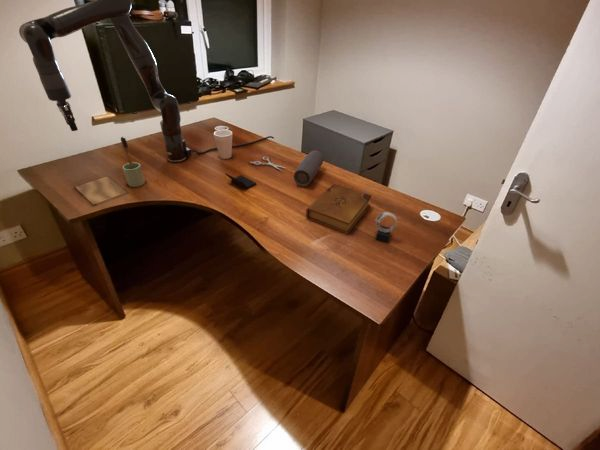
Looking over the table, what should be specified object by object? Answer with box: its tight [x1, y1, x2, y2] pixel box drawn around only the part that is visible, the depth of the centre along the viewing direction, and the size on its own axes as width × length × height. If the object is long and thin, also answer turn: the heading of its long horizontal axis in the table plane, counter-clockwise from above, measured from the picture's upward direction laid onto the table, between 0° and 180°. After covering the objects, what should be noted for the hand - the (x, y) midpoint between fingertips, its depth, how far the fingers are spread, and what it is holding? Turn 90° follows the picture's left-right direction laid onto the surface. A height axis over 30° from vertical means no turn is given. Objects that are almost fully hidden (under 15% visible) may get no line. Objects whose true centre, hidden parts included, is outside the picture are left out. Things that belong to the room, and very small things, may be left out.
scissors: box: [249, 156, 286, 172], centre depth 171 cm, size 11×1×20 cm
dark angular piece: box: [225, 173, 257, 190], centre depth 154 cm, size 12×7×10 cm
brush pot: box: [122, 161, 146, 188], centre depth 150 cm, size 7×8×9 cm
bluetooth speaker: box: [293, 149, 325, 187], centre depth 159 cm, size 23×9×10 cm, turn 161°
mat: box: [75, 176, 127, 206], centre depth 147 cm, size 14×20×1 cm
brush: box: [120, 136, 134, 169], centre depth 146 cm, size 2×2×22 cm
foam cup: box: [213, 129, 234, 160], centre depth 174 cm, size 10×9×13 cm
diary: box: [305, 183, 372, 235], centre depth 137 cm, size 23×19×6 cm
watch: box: [374, 211, 398, 243], centre depth 123 cm, size 6×8×11 cm
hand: (72, 127), depth 134 cm, fingers open, 8 cm apart
